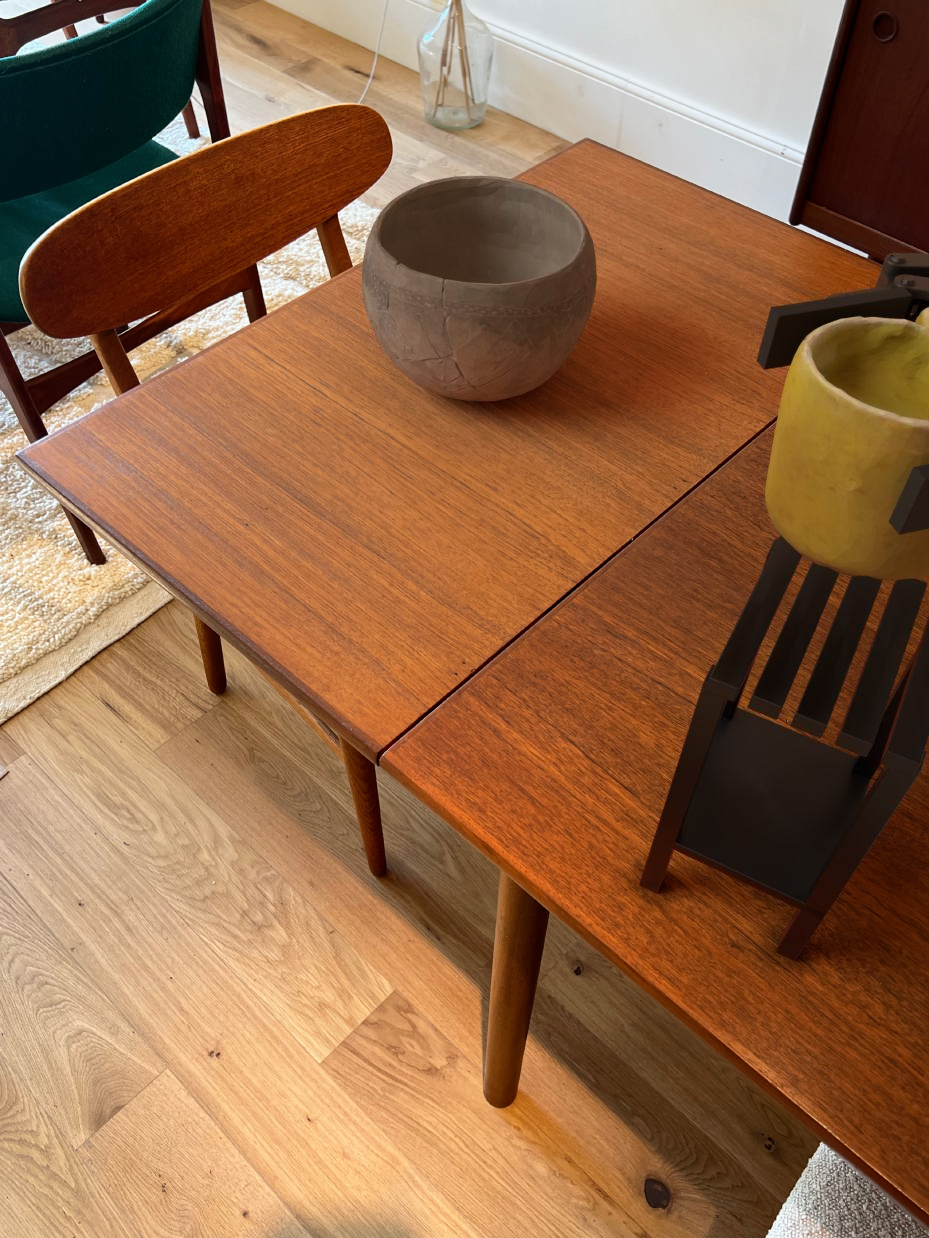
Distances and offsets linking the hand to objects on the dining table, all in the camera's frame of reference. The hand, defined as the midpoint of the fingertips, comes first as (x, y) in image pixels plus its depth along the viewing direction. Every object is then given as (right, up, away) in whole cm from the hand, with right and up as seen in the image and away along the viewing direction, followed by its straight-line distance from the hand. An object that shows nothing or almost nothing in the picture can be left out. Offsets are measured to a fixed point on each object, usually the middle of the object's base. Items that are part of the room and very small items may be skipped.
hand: (830, 413), depth 40 cm
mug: (+4, -3, +6) cm, 7 cm away
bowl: (-14, +15, +56) cm, 59 cm away
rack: (+3, -23, +22) cm, 32 cm away
